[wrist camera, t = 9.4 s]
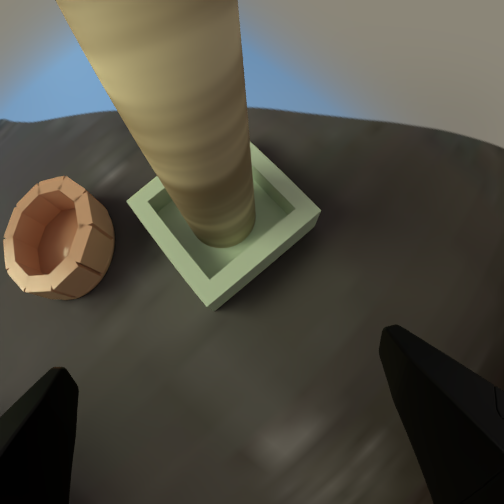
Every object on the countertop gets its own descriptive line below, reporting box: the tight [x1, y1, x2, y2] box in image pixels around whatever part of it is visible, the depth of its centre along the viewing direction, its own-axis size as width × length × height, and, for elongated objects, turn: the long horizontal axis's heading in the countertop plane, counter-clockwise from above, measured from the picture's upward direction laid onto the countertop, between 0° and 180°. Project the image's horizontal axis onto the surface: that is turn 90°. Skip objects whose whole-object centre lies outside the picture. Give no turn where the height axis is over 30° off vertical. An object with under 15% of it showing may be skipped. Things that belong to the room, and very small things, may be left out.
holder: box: [3, 176, 115, 300], centre depth 19 cm, size 8×8×4 cm
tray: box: [127, 142, 321, 311], centre depth 19 cm, size 8×8×3 cm
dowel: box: [56, 0, 256, 248], centre depth 12 cm, size 4×4×16 cm
